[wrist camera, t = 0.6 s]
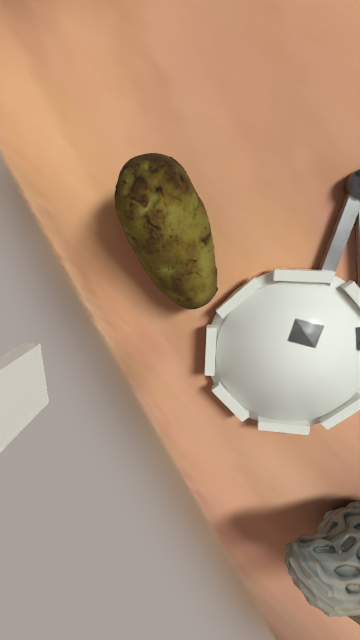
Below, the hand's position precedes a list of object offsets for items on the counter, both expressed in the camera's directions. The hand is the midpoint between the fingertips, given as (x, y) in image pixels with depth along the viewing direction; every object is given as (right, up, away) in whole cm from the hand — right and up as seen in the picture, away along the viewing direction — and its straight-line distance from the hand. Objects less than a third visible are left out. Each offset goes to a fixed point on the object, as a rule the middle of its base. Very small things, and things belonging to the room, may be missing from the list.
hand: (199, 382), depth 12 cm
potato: (-1, +11, +19) cm, 22 cm away
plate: (+10, -1, +20) cm, 23 cm away
